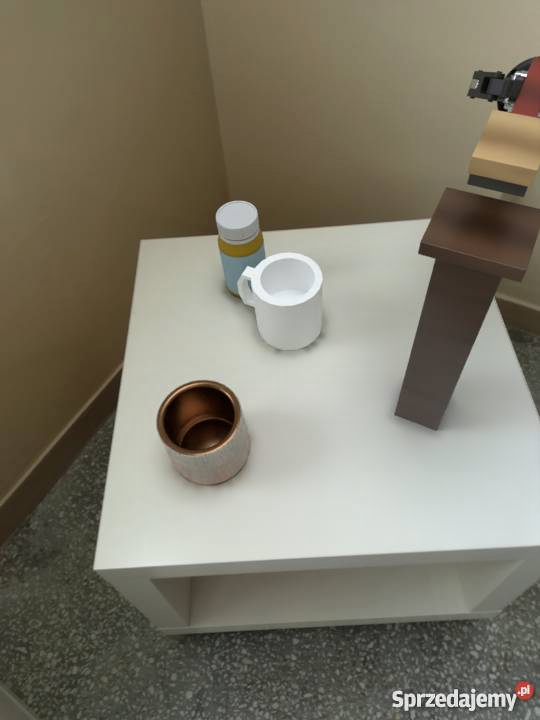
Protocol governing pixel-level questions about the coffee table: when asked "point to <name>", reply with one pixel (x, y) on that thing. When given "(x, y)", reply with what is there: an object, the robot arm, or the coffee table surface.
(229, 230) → the bottle
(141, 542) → the coffee table surface
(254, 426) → the coffee table surface
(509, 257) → the stand
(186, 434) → the planter
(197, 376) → the coffee table surface
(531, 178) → the brush
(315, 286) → the mug
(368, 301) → the coffee table surface
